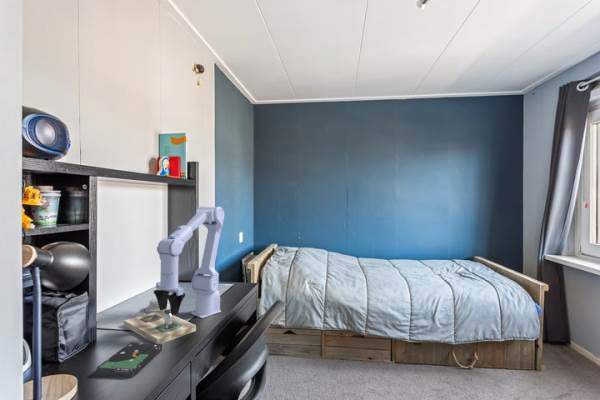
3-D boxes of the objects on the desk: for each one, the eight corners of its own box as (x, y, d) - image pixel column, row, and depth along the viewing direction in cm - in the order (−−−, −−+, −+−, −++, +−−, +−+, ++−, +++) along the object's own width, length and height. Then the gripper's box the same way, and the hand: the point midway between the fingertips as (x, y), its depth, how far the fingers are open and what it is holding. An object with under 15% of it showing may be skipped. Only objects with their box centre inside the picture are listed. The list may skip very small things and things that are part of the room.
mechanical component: (161, 304, 136) (140, 311, 127) (161, 294, 136) (141, 300, 127) (177, 308, 131) (156, 315, 122) (177, 298, 131) (157, 304, 122)
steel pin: (169, 330, 108) (170, 308, 108) (173, 332, 106) (174, 310, 106) (162, 333, 106) (162, 310, 106) (166, 335, 104) (166, 312, 104)
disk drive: (129, 351, 94) (95, 378, 79) (130, 342, 94) (95, 367, 79) (162, 352, 93) (133, 379, 79) (162, 343, 93) (134, 368, 79)
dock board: (161, 315, 122) (161, 309, 122) (195, 330, 108) (196, 324, 108) (124, 325, 111) (124, 319, 111) (157, 345, 97) (157, 337, 97)
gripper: (147, 271, 107) (147, 310, 107) (169, 278, 99) (168, 320, 98) (166, 268, 113) (166, 305, 113) (189, 274, 104) (188, 314, 104)
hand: (168, 311), depth 106 cm, fingers open, 7 cm apart
